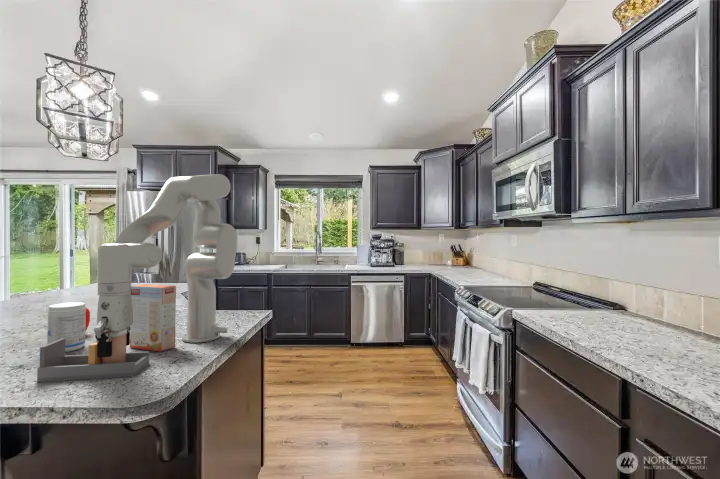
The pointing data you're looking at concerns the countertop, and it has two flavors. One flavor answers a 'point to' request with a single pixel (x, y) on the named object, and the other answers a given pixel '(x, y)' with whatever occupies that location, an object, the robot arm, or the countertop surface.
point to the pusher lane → (84, 365)
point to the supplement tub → (67, 324)
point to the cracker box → (153, 317)
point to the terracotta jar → (117, 348)
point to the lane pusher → (93, 354)
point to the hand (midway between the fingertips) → (114, 350)
